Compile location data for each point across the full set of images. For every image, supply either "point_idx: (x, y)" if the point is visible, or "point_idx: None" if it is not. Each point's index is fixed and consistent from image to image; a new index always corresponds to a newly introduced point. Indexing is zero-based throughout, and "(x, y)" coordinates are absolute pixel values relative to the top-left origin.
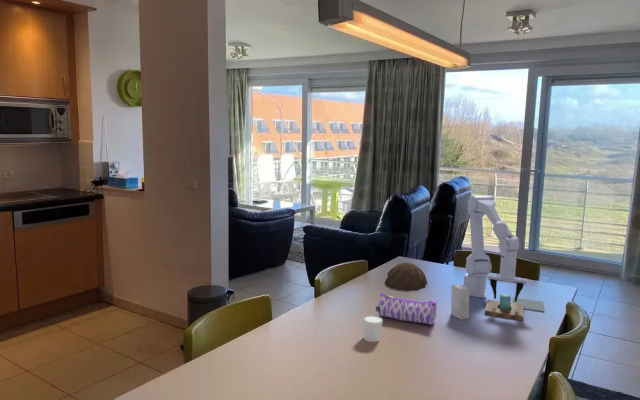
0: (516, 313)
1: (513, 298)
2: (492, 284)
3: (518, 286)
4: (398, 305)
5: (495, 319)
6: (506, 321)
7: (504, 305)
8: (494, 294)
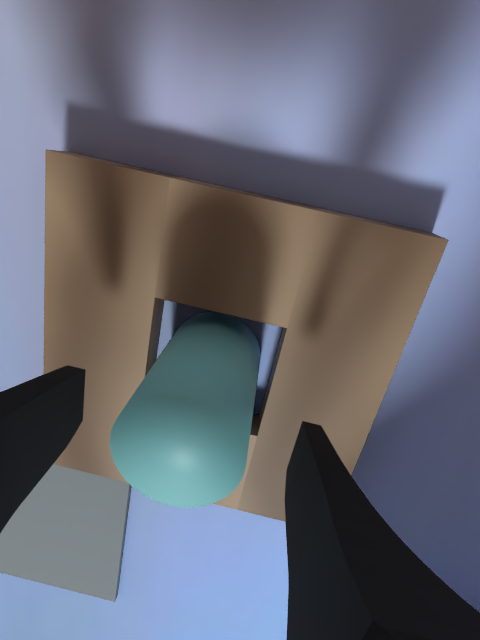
0: (110, 231)
1: (113, 587)
2: (459, 625)
3: None
4: None
5: (351, 96)
6: (238, 65)
7: (211, 343)
8: (333, 457)
